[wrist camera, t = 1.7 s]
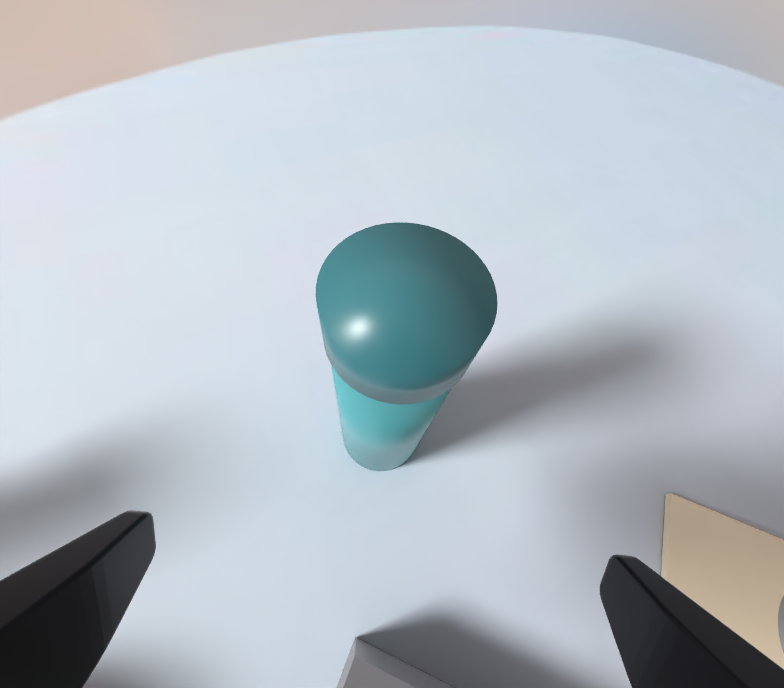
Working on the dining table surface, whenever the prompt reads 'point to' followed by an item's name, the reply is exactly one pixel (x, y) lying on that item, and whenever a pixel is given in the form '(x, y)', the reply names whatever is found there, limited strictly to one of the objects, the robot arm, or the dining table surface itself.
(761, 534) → the sheet
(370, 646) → the button housing
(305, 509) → the dining table surface
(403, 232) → the ball
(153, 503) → the dining table surface
